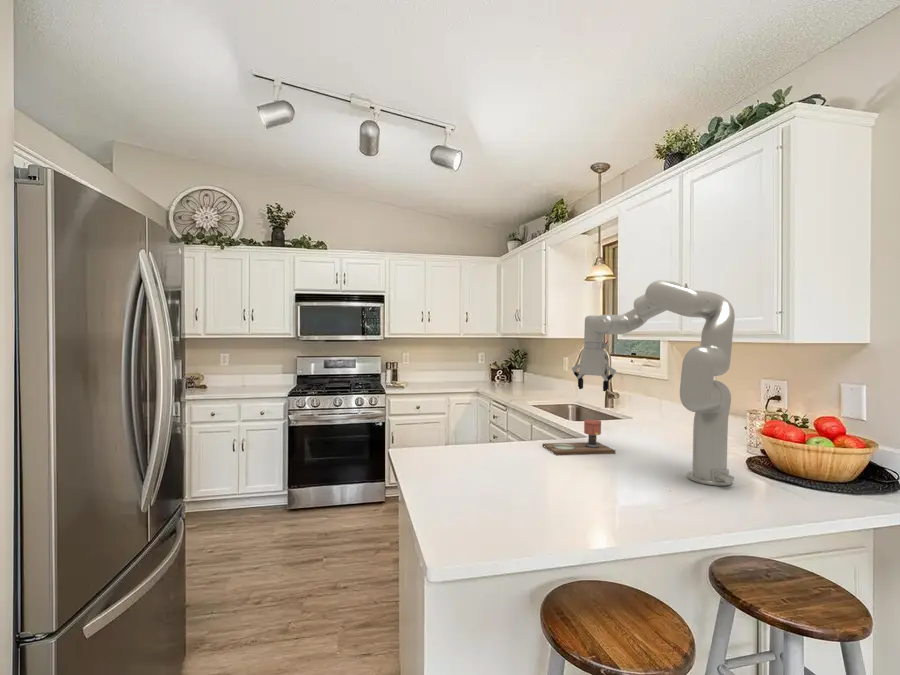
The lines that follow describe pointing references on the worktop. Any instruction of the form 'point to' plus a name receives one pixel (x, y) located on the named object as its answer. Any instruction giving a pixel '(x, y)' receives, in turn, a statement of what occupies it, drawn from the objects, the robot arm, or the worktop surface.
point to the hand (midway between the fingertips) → (592, 389)
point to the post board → (579, 447)
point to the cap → (592, 427)
